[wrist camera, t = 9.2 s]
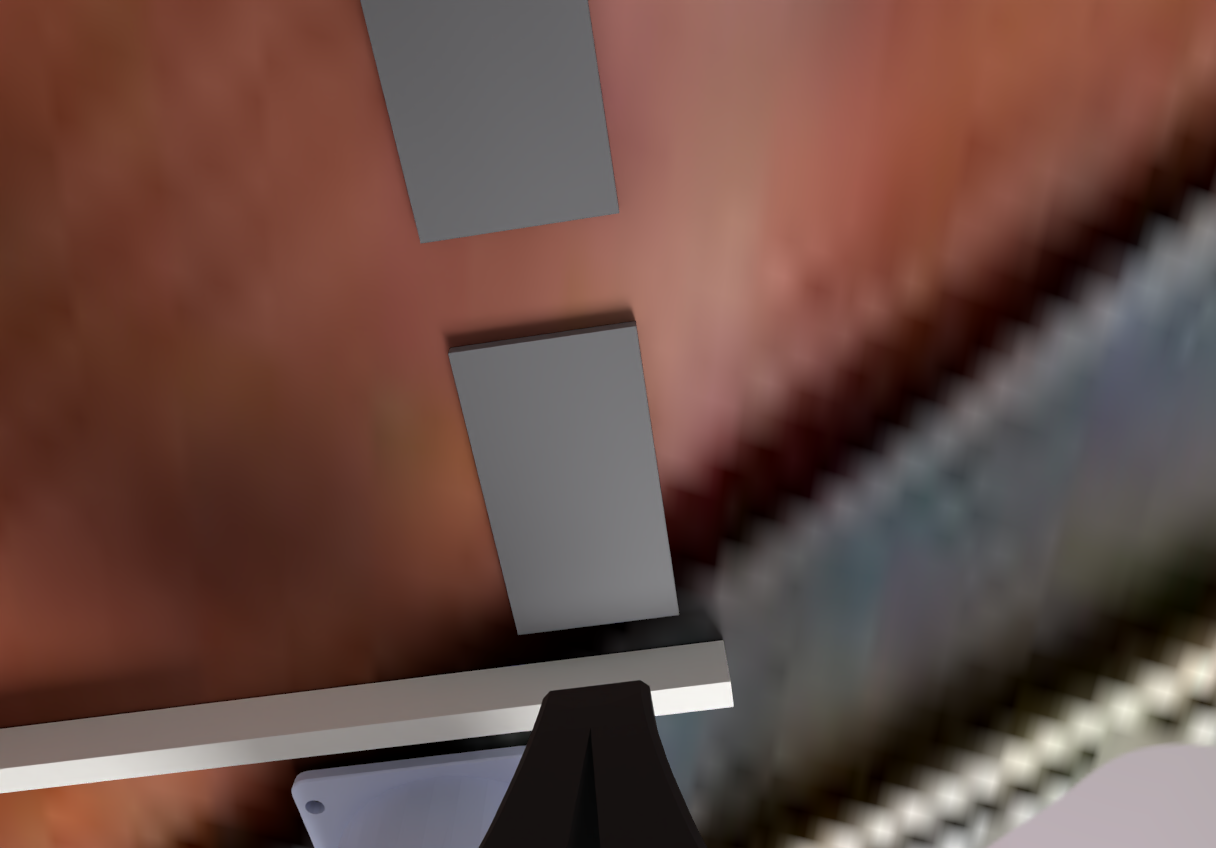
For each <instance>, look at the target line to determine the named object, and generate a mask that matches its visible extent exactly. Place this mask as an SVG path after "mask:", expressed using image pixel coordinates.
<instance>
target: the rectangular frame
mask: <svg viewBox="0 0 1216 848" xmlns="http://www.w3.org/2000/svg"><path fill="white" fill-rule="evenodd" d="M360 1H361V5H362V9H363V13H364V17H365V21H366V25H367V29H368V33H369V37H370V41H371V45H372V49H373V53H374V57H375V61H376V65H377V69H378V73H379V77H380V81H381V85H382V89H383V93H384V97H385V101H386V106H387V110H388V114H389V118H390V122H391V126H392V130H393V134H394V138H395V142H396V146H397V150H398V154H399V158H400V162H401V166H402V170H403V174H404V178H405V182H406V186H407V190H408V194H409V198H410V202H411V206H412V210H413V214H414V218H415V222H416V226H417V230H418V234H419V238H420V242H421V243H427V242H433V241H440V240H447V239H453V238H460V237H466V236H473V235H479V234H486V233H492V232H499V231H505V230H512V229H518V228H525V227H531V226H538V225H544V224H551V223H557V222H564V221H571V220H577V219H584V218H590V217H597V216H603V215H610V214H616V213H619V206H618V200H617V193H616V186H615V179H614V173H613V166H612V159H611V153H610V146H609V139H608V132H607V126H606V119H605V112H604V106H603V99H602V92H601V86H600V79H599V72H598V65H597V59H596V52H595V45H594V39H593V32H592V25H591V18H590V12H589V5H588V0H360ZM448 355H449V359H450V363H451V367H452V371H453V375H454V379H455V383H456V387H457V391H458V395H459V399H460V403H461V407H462V411H463V415H464V419H465V423H466V427H467V431H468V435H469V439H470V443H471V447H472V451H473V456H474V460H475V464H476V468H477V472H478V476H479V480H480V484H481V488H482V492H483V496H484V500H485V504H486V508H487V512H488V516H489V520H490V524H491V528H492V532H493V536H494V540H495V544H496V548H497V552H498V556H499V560H500V564H501V568H502V572H503V576H504V580H505V584H506V588H507V592H508V596H509V600H510V604H511V608H512V612H513V616H514V620H515V624H516V629H517V633H518V635H522V634H530V633H538V632H546V631H554V630H562V629H570V628H578V627H586V626H594V625H602V624H610V623H618V622H626V621H634V620H642V619H650V618H658V617H666V616H674V615H679V609H678V602H677V595H676V588H675V582H674V575H673V568H672V562H671V555H670V548H669V541H668V535H667V528H666V521H665V515H664V508H663V501H662V495H661V488H660V481H659V474H658V468H657V461H656V454H655V448H654V441H653V434H652V427H651V421H650V414H649V407H648V401H647V394H646V387H645V381H644V374H643V367H642V360H641V354H640V347H639V340H638V334H637V327H636V321H632V322H625V323H618V324H612V325H605V326H598V327H591V328H584V329H577V330H570V331H563V332H557V333H550V334H543V335H536V336H529V337H522V338H515V339H509V340H502V341H495V342H488V343H481V344H474V345H467V346H460V347H454V348H450V350H449V352H448ZM636 680H641V681H643V682H644V683H646V684H647V685H649V686H650V691H651V696H652V702H653V708H654V714H655V716H659V715H667V714H676V713H684V712H693V711H701V710H710V709H718V708H727V707H734V706H733V698H732V690H731V681H730V676H729V670H728V664H727V658H726V652H725V647H724V641H723V640H720V641H712V642H704V643H696V644H688V645H680V646H671V647H663V648H655V649H647V650H639V651H631V652H622V653H614V654H606V655H598V656H590V657H582V658H574V659H565V660H557V661H549V662H541V663H533V664H525V665H517V666H508V667H500V668H492V669H484V670H476V671H468V672H460V673H451V674H443V675H435V676H427V677H419V678H411V679H403V680H394V681H386V682H378V683H370V684H362V685H354V686H346V687H337V688H329V689H321V690H313V691H305V692H297V693H289V694H280V695H272V696H264V697H256V698H248V699H240V700H232V701H223V702H215V703H207V704H199V705H191V706H183V707H175V708H166V709H158V710H150V711H142V712H134V713H126V714H117V715H109V716H101V717H93V718H85V719H77V720H69V721H60V722H52V723H44V724H36V725H28V726H20V727H12V728H3V729H0V793H7V792H15V791H24V790H32V789H41V788H49V787H58V786H66V785H75V784H83V783H92V782H100V781H109V780H117V779H125V778H134V777H142V776H151V775H159V774H168V773H176V772H185V771H193V770H202V769H210V768H219V767H227V766H236V765H244V764H252V763H261V762H269V761H278V760H286V759H295V758H303V757H312V756H320V755H329V754H337V753H346V752H354V751H363V750H371V749H379V748H388V747H396V746H405V745H413V744H422V743H430V742H439V741H447V740H456V739H464V738H473V737H481V736H490V735H498V734H506V733H515V732H523V731H532V730H533V727H534V724H535V721H536V719H537V716H538V713H539V710H540V707H541V703H542V700H543V698H544V697H545V696H546V695H547V694H548V693H549V691H553V690H561V689H570V688H578V687H586V686H595V685H603V684H611V683H619V682H628V681H636Z"/></svg>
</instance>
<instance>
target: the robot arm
mask: <svg viewBox="0 0 1216 848" xmlns="http://www.w3.org/2000/svg"><path fill="white" fill-rule="evenodd" d="M291 791H292V796H293V798H294V801H295V803H296V805H297V808H298V810H299V812H300V815H301V817H302V819H303V822H304V824H305V826H306V829H307V831H308V833H309V836H310V838H311V840H312V843H313V845H314V848H707V847H706V845H705V843H704V841H703V839H702V837H701V835H700V833H699V831H698V829H697V827H696V825H695V823H694V821H693V819H692V817H691V814H690V812H689V810H688V808H687V806H686V803H685V801H684V799H683V796H682V794H681V792H680V789H679V787H678V785H677V783H676V780H675V778H674V776H673V773H672V771H671V768H670V765H669V763H668V760H667V758H666V755H665V752H664V749H663V746H662V743H661V740H660V737H659V734H658V730H657V725H656V719H655V714H654V708H653V702H652V696H651V691H650V686H649V685H647V684H646V683H644V682H643V681H641V680H636V681H628V682H619V683H611V684H603V685H595V686H586V687H578V688H570V689H561V690H553V691H549V693H548V694H547V695H546V696H545V697H544V698H543V700H542V703H541V707H540V710H539V713H538V716H537V719H536V721H535V724H534V727H533V730H532V732H531V735H530V737H529V740H528V743H527V745H524V746H515V747H507V748H498V749H490V750H481V751H473V752H464V753H455V754H447V755H438V756H430V757H421V758H413V759H404V760H396V761H387V762H379V763H370V764H362V765H353V766H344V767H336V768H327V769H319V770H310V771H305V772H302V773H300V774H299V775H298V776H296V779H295V781H294V784H293V786H292V789H291ZM313 800H314V801H313ZM315 801H319V802H315Z"/></svg>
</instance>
